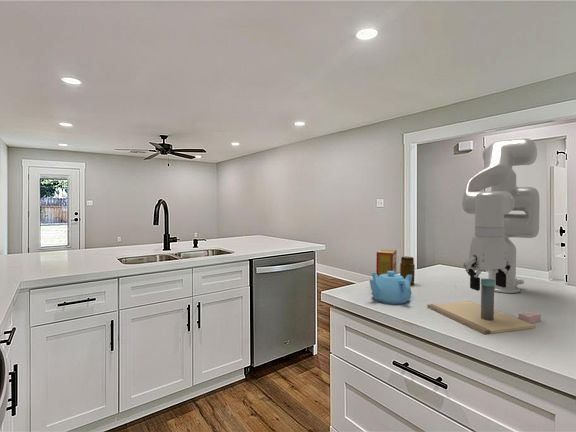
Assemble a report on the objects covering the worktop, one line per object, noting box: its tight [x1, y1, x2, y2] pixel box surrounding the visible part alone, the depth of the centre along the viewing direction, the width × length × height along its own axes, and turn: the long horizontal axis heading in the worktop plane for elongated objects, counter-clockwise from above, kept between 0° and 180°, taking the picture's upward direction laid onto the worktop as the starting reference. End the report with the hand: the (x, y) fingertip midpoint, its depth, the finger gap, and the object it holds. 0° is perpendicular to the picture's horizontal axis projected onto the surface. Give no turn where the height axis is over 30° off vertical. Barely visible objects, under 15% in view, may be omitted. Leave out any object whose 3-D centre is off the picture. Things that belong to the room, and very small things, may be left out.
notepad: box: [426, 300, 536, 335], centre depth 104 cm, size 18×24×1 cm
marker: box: [480, 278, 495, 321], centre depth 100 cm, size 4×4×12 cm
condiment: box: [399, 256, 422, 287], centre depth 146 cm, size 7×8×12 cm
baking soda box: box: [375, 248, 398, 276], centre depth 141 cm, size 10×6×16 cm
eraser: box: [518, 310, 542, 324], centre depth 101 cm, size 6×3×2 cm, turn 115°
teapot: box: [369, 271, 412, 305], centre depth 123 cm, size 15×15×11 cm
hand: (487, 287), depth 101 cm, fingers open, 9 cm apart
